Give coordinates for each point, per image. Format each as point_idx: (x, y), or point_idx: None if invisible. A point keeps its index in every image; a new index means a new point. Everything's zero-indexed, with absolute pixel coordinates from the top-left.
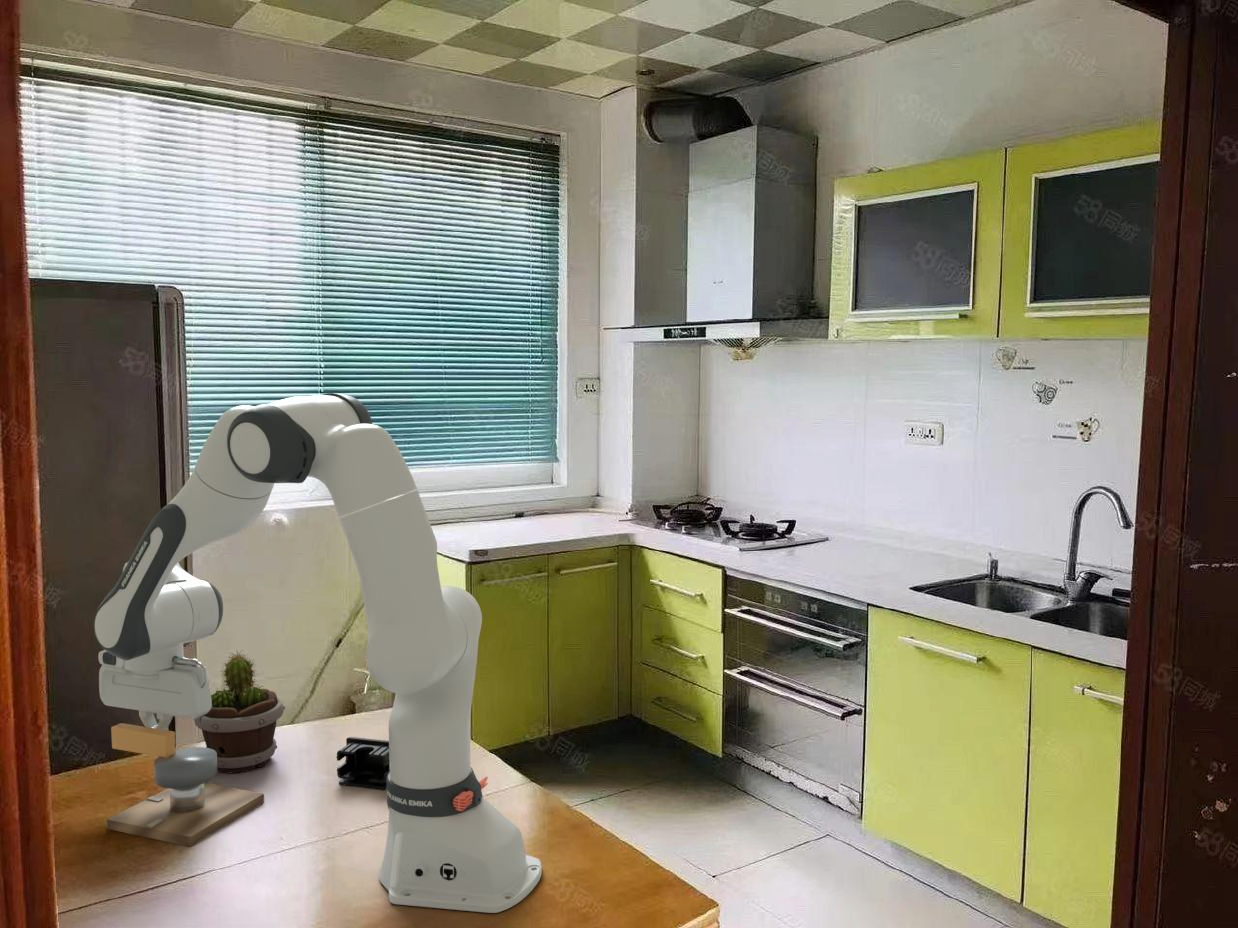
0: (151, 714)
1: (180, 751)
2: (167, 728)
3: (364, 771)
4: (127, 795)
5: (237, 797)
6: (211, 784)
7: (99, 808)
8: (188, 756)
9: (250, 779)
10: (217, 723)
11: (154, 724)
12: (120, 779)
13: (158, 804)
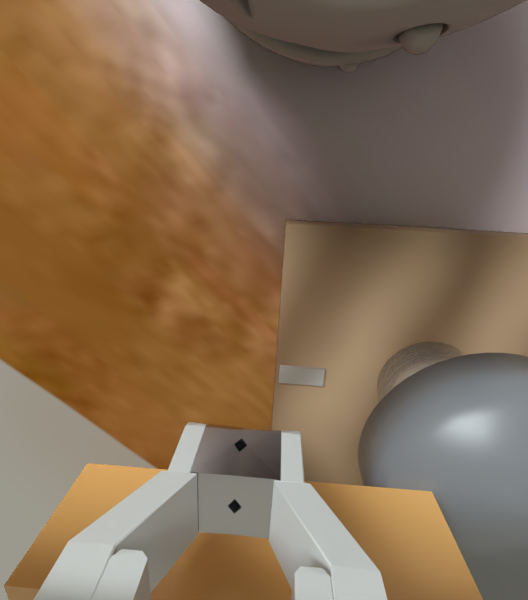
0: (149, 587)
1: (445, 473)
2: (303, 470)
3: None
4: (159, 314)
5: None
6: (406, 233)
7: (160, 392)
8: (523, 507)
9: (473, 72)
10: (449, 15)
11: (195, 494)
12: (37, 227)
13: (332, 394)
